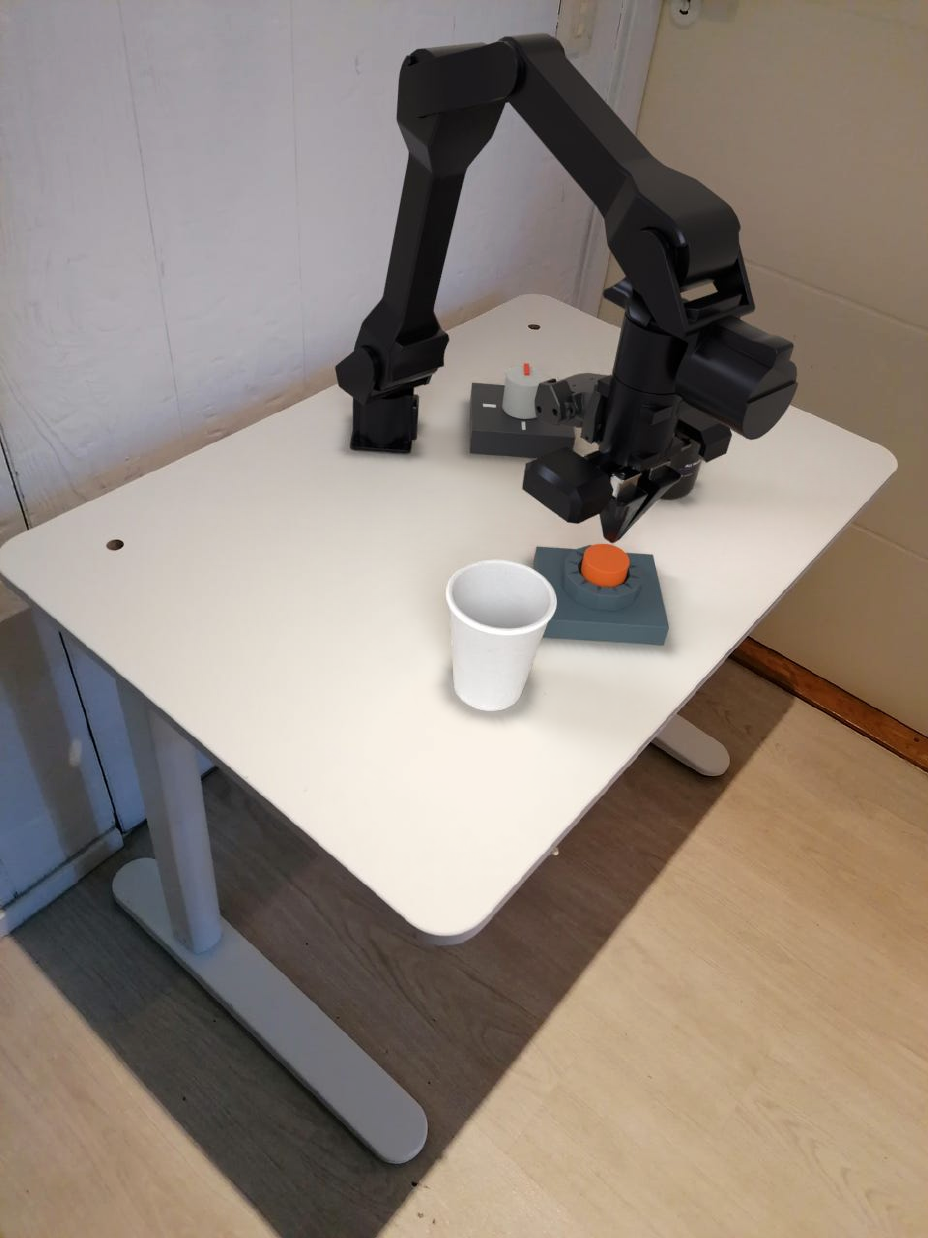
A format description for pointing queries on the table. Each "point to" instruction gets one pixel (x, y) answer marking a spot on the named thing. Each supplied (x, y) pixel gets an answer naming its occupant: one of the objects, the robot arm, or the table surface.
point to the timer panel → (510, 428)
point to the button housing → (603, 600)
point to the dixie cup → (496, 629)
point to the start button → (605, 565)
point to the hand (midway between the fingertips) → (610, 539)
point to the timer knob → (522, 391)
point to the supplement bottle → (684, 472)
